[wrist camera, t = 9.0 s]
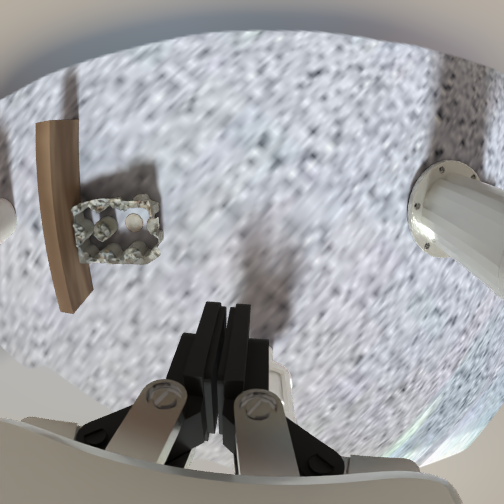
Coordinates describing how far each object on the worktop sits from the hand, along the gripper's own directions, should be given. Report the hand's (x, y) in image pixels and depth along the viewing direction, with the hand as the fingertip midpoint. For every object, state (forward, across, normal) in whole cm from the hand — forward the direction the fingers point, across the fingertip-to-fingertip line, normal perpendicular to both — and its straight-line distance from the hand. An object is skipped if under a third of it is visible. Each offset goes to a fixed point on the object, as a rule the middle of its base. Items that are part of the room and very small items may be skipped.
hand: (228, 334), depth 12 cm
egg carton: (+23, +15, +3) cm, 28 cm away
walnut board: (+22, +22, +2) cm, 31 cm away
